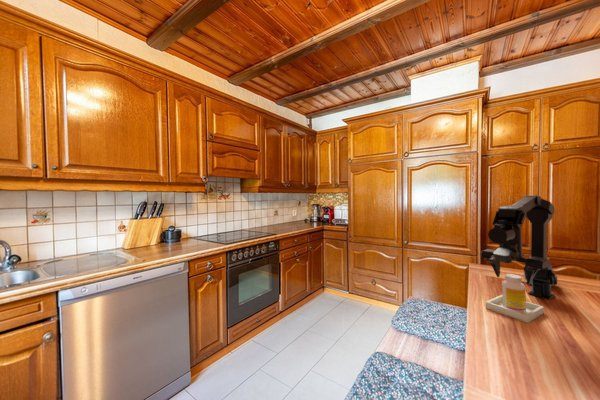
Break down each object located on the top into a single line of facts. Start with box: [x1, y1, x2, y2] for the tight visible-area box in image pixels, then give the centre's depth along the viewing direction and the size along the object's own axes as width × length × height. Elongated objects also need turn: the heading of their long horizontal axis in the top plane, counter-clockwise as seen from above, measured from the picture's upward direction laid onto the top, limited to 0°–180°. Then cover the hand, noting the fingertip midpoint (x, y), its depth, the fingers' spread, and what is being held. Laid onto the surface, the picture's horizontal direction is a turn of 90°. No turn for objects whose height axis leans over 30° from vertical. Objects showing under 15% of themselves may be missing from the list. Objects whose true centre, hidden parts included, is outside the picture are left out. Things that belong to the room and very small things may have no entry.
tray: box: [485, 294, 545, 324], centre depth 89 cm, size 13×13×2 cm
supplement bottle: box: [501, 273, 527, 313], centre depth 89 cm, size 7×7×13 cm
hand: (512, 280), depth 88 cm, fingers open, 9 cm apart
